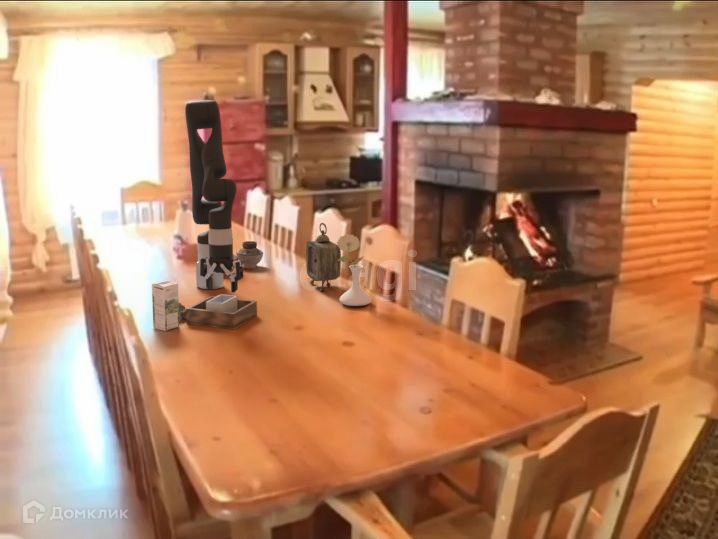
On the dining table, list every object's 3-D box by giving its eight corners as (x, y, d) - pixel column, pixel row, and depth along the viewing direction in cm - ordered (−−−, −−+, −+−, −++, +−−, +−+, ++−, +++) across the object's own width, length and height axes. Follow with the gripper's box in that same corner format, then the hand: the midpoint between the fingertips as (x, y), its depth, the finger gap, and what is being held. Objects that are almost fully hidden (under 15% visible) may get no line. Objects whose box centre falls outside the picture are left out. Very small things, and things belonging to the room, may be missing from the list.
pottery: (208, 273, 301) (207, 245, 298) (248, 263, 321) (248, 236, 319) (229, 277, 295) (228, 248, 292) (268, 266, 316) (268, 239, 313)
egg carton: (181, 313, 247) (181, 301, 246) (194, 318, 242) (194, 306, 241) (153, 319, 240) (152, 307, 239) (165, 324, 234) (165, 312, 233)
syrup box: (167, 323, 235) (165, 279, 231) (180, 327, 231) (178, 282, 228) (153, 328, 230) (150, 283, 227) (165, 331, 227) (163, 286, 223)
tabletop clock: (306, 283, 287) (306, 220, 282) (327, 282, 291) (328, 219, 285) (318, 293, 274) (319, 226, 269) (341, 290, 278) (342, 225, 272)
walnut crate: (186, 323, 235) (186, 308, 234) (211, 310, 250) (210, 296, 249) (234, 329, 230) (234, 314, 229) (256, 315, 245) (256, 301, 244)
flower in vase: (375, 301, 264) (377, 233, 258) (365, 310, 253) (367, 238, 248) (341, 298, 268) (342, 230, 262) (330, 306, 257) (330, 235, 252)
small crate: (206, 319, 236) (205, 301, 235) (221, 311, 245) (220, 294, 244) (223, 321, 234) (222, 303, 233) (237, 313, 244) (237, 295, 242)
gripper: (194, 242, 233) (196, 291, 237) (235, 245, 229) (236, 296, 232) (206, 237, 240) (208, 285, 244) (246, 241, 236) (247, 290, 239)
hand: (222, 290), depth 238 cm, fingers open, 8 cm apart
